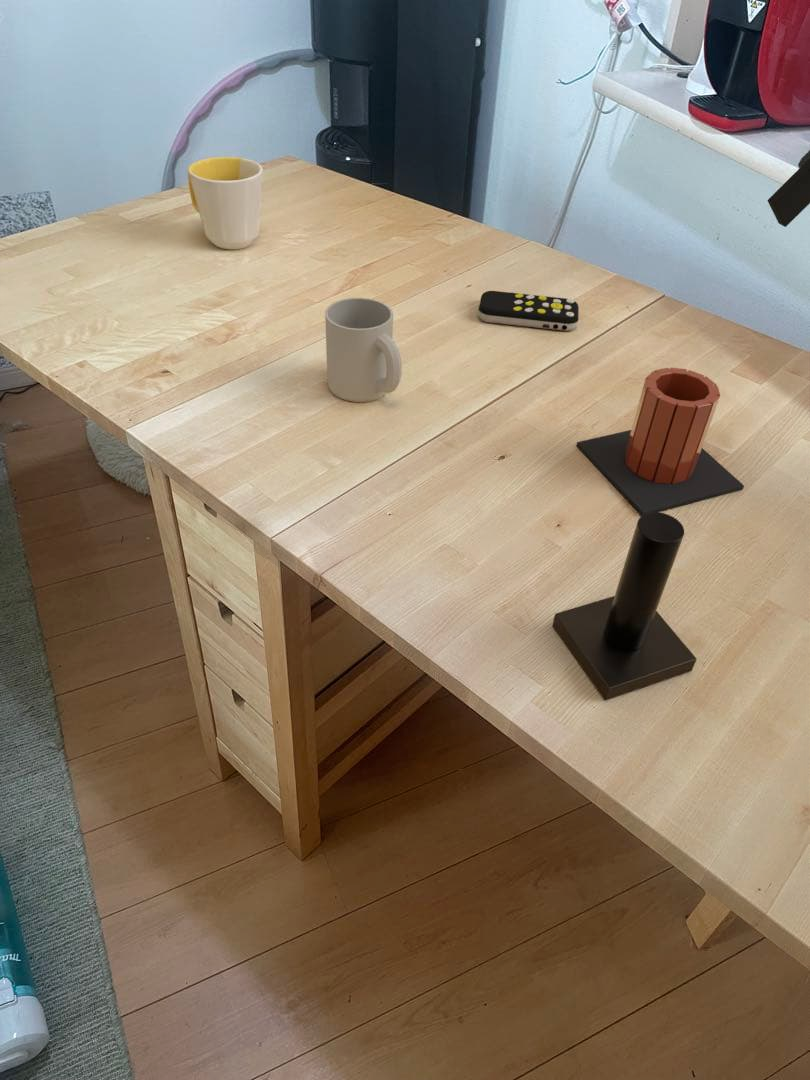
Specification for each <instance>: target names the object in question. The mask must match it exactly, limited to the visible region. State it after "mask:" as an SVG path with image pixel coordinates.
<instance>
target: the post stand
mask: <svg viewBox="0 0 810 1080" xmlns="http://www.w3.org/2000/svg"><path fill="white" fill-rule="evenodd" d="M684 537H685V528H684V526H683V524H682V523H681V522H680V520H678V519H677V518H676V517H674V516H673V515H670V514H667V513H665V512H651V513H646V514H644V515H642V516H641V515H640V516H639V518H638V519H637V522H636V525H635V529H634V532H633V535H632V538H631V541H630V545H629V548H628V550H627V555H626V558H625V561H624V564H623V568H622V571H621V574H620V577H619V579H618V580H619V581H618V584H617V587H616V590H615V594H614V595H613V596H610V597H609V596H608V597H606V598H602V599H599V600H595V601H593V602H589V603H585V604H583V605H580V606H576V607H573V608H569V609H566V610H562V611H560V612H556V613H555V614H554V616H553V621H552V627H553V629H554V630H555V632H556V633H557V634H558V636H559V637H560V639H561V640H562V641H563V643H564V645H565V646H566V647H567V648H568V650H569V652H570V653H571V654H572V656H573V658H575V660H576V661H577V663H578V664H579V665H580V667H581V669H582V670H583V671H584V672H585V674H586V675H587V677H588V678H589V681H591V682H592V684H593V686H594V687H595V688H596V690H597V691H598V693H599V694H600V695H601V697H602V698H603V699H604V701H608V700H611V699H614V698H616V697H619V696H622V695H625V694H628V693H631V692H634V691H637V690H640V689H642V688H643V689H644V688H646V687H648V686H651V685H655V684H657V683H661V682H663V681H666V680H669V679H673V678H675V677H678V676H681V675H683V674H687V673H690V672H692V671H693V669H694V667H695V664H696V662H697V660H698V658H697V657H696V656H695V655H694V653H693V652H692V651H691V650H690V649H689V648H688V646H687V645H686V644H685V643H684V642H683V640H682V639H681V638H680V637H679V636H678V635H677V634H676V632H675V631H674V630H673V629H672V627H671V626H670V625H669V624H668V623H667V622H666V620H665V619H664V618H663V617H662V616H661V615H660V613H659V612H658V611H657V610H658V607H659V604H660V602H661V598H662V596H663V593H664V591H665V588H666V585H667V583H668V580H669V577H670V574H671V571H672V569H673V567H674V563H675V560H676V557H677V555H678V553H679V549H680V547H681V544H682V541H683V538H684Z"/></svg>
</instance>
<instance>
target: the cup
mask: <svg viewBox="0 0 810 1080" xmlns="http://www.w3.org/2000/svg"><path fill="white" fill-rule="evenodd" d="M324 317H325V318H324V320H325V321H324V323H325V349H326V351H325V353H326V380H327V386H328V388H329V390H330V392H331V393H332V394H333V395H334V396H336V398H339V399H341V400H344V401H347V402H351V403H352V402H354V403H367V402H373V401H375V400H378V399H380V398H382V397H383V396H385V394H391V393H393V392H394V391H396V389H397V388H398V387H399V384H400V382H401V379H402V373H403V366H402V364H403V363H402V357H401V352H400V348H398V345H397V344H396V342H395V340H394V339H393V338H394V337H393V335H394V334H393V333H394V312H393V310H392V308H391V307H390V306H389V305H387V304H386V303H384V302H383V301H380V300H377V299H374V298H367V297H348V298H343V299H340V300H337V301H334V302H333V303H330V304H329V305H328V306H327V307H326V309H325V311H324Z"/></svg>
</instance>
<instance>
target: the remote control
mask: <svg viewBox="0 0 810 1080" xmlns="http://www.w3.org/2000/svg"><path fill="white" fill-rule="evenodd" d="M579 307H580V306H579V304H578V302H577V301H575V299H573V298H564V297H556V296H548V295H547V296H545V295H538V294H537V295H536V294H527V293H519V292H518V293H517V292H508V291H501V290H500V291H499V290H498V291H497V290H487V291H485V292H483V293H482V294H481V297H480V300H479V305H478V312H477V313H478V318H479V319H480V320H481V321H483V322H485V323H491V324H501V325H510V326H519V327H528V328H536V329H537V328H538V329H545V330H553V331H554V330H555V331H563V332H564V331H565V332H569V331H573V330H574V329H576V327H578V323H579V314H580V313H579V312H580V311H579V310H580V308H579Z"/></svg>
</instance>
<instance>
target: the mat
mask: <svg viewBox="0 0 810 1080" xmlns="http://www.w3.org/2000/svg"><path fill="white" fill-rule="evenodd" d="M631 430H632V429H629V430H624V431H620V432H616V433H615V432H614V433H611V434H607V435H602V436H598V437H594V438H590V439H585V440H580V441H577V442H576V447H577V449H579V450H580V451H581V452H582V453H583V455H584V456H585V457H586V458H587V459H588V460H589V462H590V463H592V464H593V466H595V467H596V469H597V470H598V471H599V472H600V473H601V474H602V475H603V476H604V477H605V478H606V479H607V481H609V483H610V484H611V485H612V486H613V488H615V489H616V490H617V491H618V492H619V494H621V496H622V497H623V498H624V499H625V500H626V501H627V502H628V503H629V504H630V506H632V507H633V509H634V510H635V511H636V512H637V513H638V514H639V515H640V517H641V516H642V515H644V514H646V513H651V512H659V513H661V512H664V511H667V510H672V509H675V508H678V507H683V506H685V505H690V504H693V503H697V502H701V501H705V500H709V499H713V498H716V497H720V496H722V495H727V494H731V493H735V492H739V491H742V490H744V487H745V485H744V484H743V483H742V482H741V481H739V480H738V479H737V478H736V477H735V476H734V475H733V474H732V473H731V472H730V471H728V470H727V469H726V468H725V467H724V466H723V465H722V464H720V463H719V462H718V461H717V460H716V459H715V458H714V457H713V456H712V455H711V454H709V452H707V450H705V449H704V448H703V447H702V449H701V452H700V455H699V458H698V461H697V463H696V466H695V469H694V472H693V473H692V475H691V476H690V477H689V478H688V479H687V480H685V481H682V482H678V483H674V484H672V483H670V484H663V483H654V480H653V481H649V480H647V479H644V478H642V477H640V476H638V474H635V473H634V472H633V471H632V470H631V469H630V468H629V467H628V466H627V464H626V462H625V452H626V448H627V444H628V441H629V437H630V433H631Z"/></svg>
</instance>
